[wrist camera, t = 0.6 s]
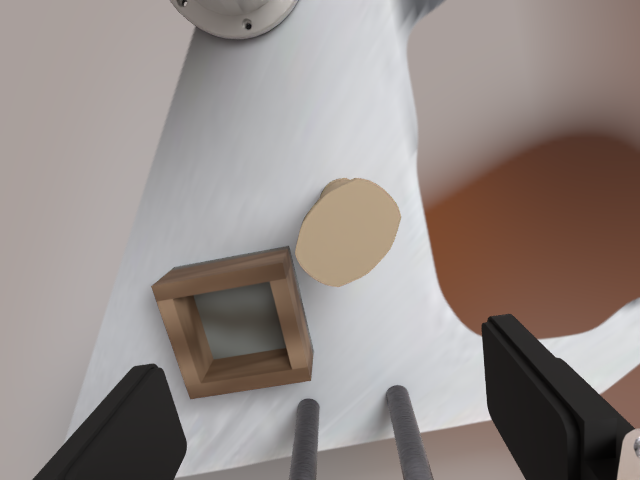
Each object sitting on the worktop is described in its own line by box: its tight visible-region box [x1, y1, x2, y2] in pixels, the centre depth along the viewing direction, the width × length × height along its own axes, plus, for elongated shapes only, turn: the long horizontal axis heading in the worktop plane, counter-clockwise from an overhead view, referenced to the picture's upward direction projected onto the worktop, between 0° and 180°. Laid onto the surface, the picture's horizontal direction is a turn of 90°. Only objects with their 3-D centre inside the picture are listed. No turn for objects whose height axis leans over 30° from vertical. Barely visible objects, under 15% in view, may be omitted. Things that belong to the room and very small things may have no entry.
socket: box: [151, 246, 314, 399], centre depth 36 cm, size 12×12×5 cm
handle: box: [295, 178, 401, 287], centre depth 28 cm, size 5×6×15 cm
